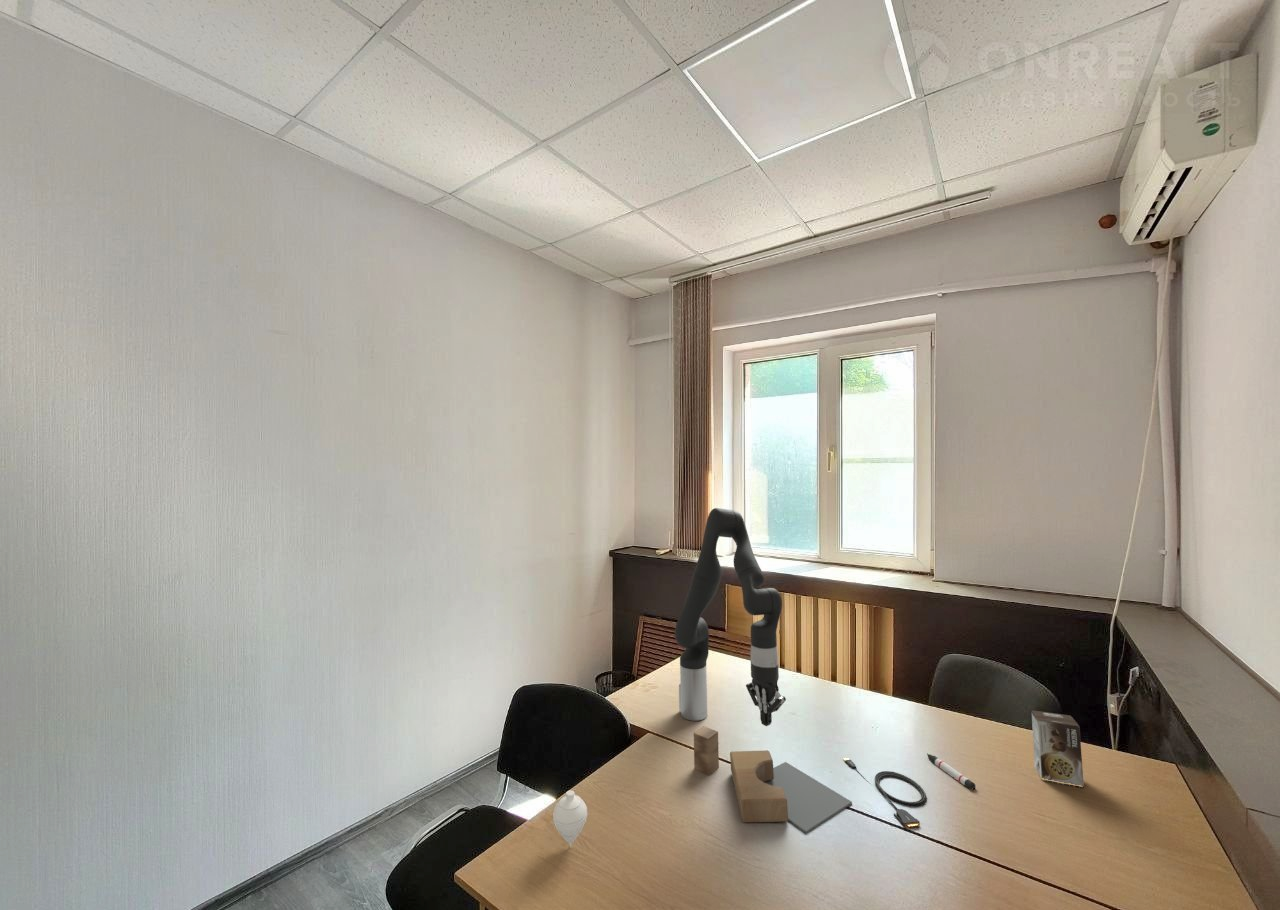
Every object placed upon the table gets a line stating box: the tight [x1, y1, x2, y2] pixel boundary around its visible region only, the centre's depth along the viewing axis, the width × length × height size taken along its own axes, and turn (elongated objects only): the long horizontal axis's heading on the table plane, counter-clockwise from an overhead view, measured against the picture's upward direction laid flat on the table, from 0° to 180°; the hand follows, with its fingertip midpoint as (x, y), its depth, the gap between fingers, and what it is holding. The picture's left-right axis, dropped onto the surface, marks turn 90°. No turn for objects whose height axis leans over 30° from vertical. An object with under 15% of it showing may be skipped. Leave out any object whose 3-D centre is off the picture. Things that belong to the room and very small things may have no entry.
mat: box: [764, 761, 853, 834], centre depth 127 cm, size 21×18×1 cm
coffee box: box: [1030, 709, 1085, 787], centre depth 132 cm, size 9×6×16 cm
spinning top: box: [552, 789, 588, 848], centre depth 110 cm, size 8×8×12 cm
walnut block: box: [693, 725, 720, 776], centre depth 139 cm, size 5×5×10 cm
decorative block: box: [729, 750, 789, 823], centre depth 126 cm, size 11×6×20 cm
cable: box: [842, 757, 928, 829], centre depth 129 cm, size 14×28×2 cm, turn 6°
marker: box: [926, 753, 976, 790], centre depth 135 cm, size 15×2×2 cm, turn 12°
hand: (766, 724), depth 135 cm, fingers closed
